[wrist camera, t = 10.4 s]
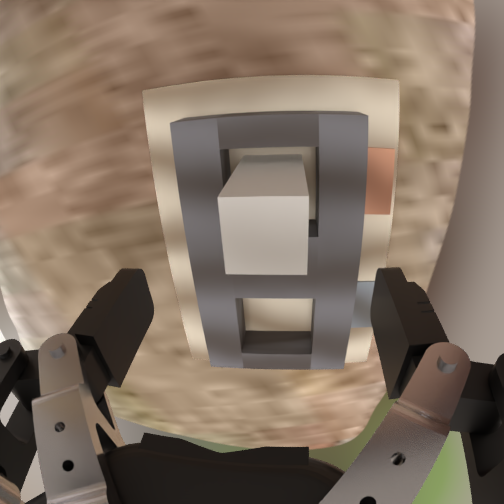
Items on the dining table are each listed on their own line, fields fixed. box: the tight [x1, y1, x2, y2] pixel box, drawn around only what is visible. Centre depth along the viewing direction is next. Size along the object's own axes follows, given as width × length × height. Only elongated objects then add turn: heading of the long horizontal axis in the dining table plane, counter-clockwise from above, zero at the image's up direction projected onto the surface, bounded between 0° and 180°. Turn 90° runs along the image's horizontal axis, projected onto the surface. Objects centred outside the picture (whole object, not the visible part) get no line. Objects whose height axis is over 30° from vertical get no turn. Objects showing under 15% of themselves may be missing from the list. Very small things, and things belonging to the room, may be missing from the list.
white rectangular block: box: [217, 154, 309, 275], centre depth 19 cm, size 4×4×9 cm
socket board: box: [142, 75, 399, 369], centre depth 25 cm, size 26×18×4 cm
